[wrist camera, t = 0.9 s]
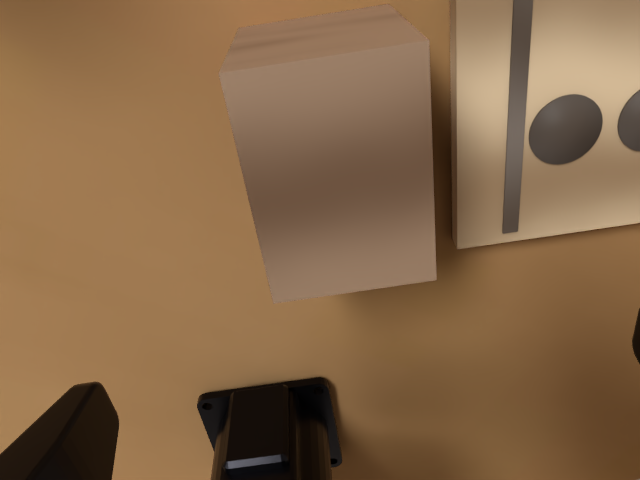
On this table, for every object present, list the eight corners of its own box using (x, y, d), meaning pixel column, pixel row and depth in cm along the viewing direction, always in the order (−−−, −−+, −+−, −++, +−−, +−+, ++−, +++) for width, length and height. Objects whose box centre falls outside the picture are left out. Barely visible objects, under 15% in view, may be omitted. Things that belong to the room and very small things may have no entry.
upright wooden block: (401, 191, 21) (436, 279, 16) (277, 210, 21) (273, 303, 16) (388, 3, 18) (428, 39, 12) (238, 27, 18) (218, 73, 13)
